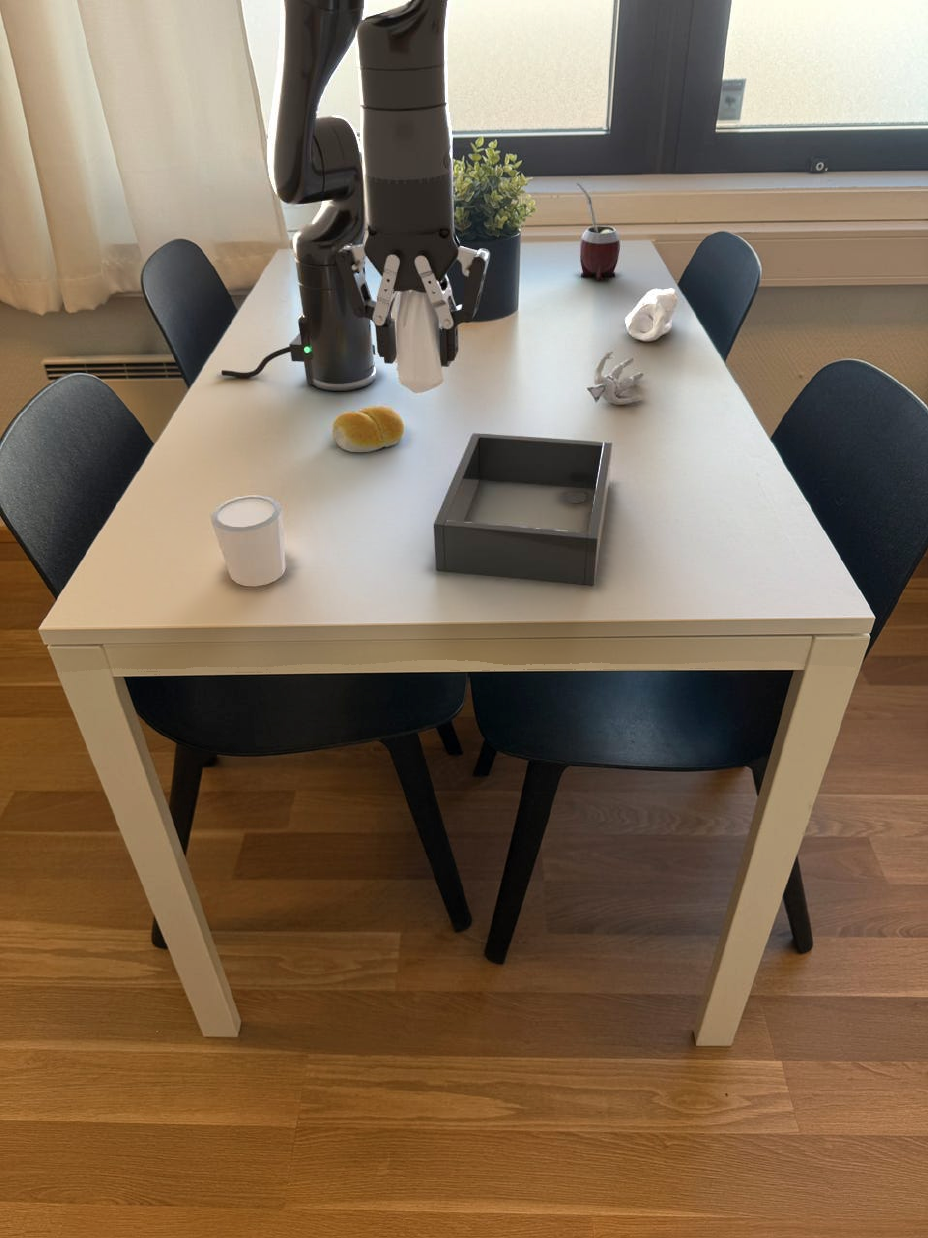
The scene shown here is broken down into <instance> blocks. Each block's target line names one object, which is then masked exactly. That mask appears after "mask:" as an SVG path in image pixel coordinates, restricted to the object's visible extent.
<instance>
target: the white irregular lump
mask: <svg viewBox="0 0 928 1238" xmlns="http://www.w3.org/2000/svg"><path fill="white" fill-rule="evenodd" d="M678 300H679V299H678V293H677V291H676V290H675V289H674V288H672V287H671V288H668V289H660V288H655V289H651V290H649V291H647V293H646V294H645V295H644V296H643V297H642V298H641V299H640V301H639V302H637V304H636V306H635V307H634V309H633V310H632V311H631V312H630V313H628V315H626V317H625V319H624V323H625V326H626V328H625V329H626V330H627V332H628V334H629V335H630V336H631V337H632V338H633V339H635V340H638V341H642V342H646V343H647V342H653V341H656V340H658V339H659V338H660V337H661V336H663V335H666V334H667V333H669V332H670V331H671V329H672V325H673V321H672V319H673V314H674V312H675V309H676V307H677V303H678Z"/></svg>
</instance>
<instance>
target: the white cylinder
mask: <svg viewBox="0 0 928 1238" xmlns="http://www.w3.org/2000/svg"><path fill="white" fill-rule="evenodd" d="M210 521H211V525H212V528H213V530H214V533H215V537H216V539H217V542H218V544H219V548H220V550H221V553H222V556H223V559H224V562H225V564H226V568H227V570H228V573H229V577H230V579H231V580H233V581H234V583H235V584H237V585H241V586H243V587H255V588H257V587H261V586H266V585H269V584H272V583H273V582H276V581H278V580H279V579H280V578H281V577H282V576H283V575H284V574H285V571H286V569H287V567H286V552H285V538H284V537H285V536H284V525H283V524H284V523H283V522H284V521H283V511H282V507H281V503H280V502H279V501H277V500H276V499H275V498H272V497H269V496H266V495H259V494H258V495H256V494H254V495H253V494H248V495H243V496H237V497H233V498H231V499H228V500H226V501H223V502H222V503H220V504H219V505H218V506H216V507H214V510H213V511H212V513H211V514H210Z"/></svg>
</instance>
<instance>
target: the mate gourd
mask: <svg viewBox="0 0 928 1238" xmlns="http://www.w3.org/2000/svg"><path fill="white" fill-rule="evenodd" d="M576 186H578V188H579V189H580V190H581V191H582V193H583V194H584V196H585V197H586V203H587V205H588V209H589V212H590V217H591V222H592V226H589V227H588V228H586V229H585V231H584V232H583V234H582V235H581V240H580V245H579V261H580V266H581V271H582V272H580V277H582V278H584V277H585V278H586V277H589V278H590V277H595V278H596V281H597V282H602V281H603V277H615V276H616V270H615V269H616V267H617V264H618V261H619V257H620V256H619V254H620V250H621V241H620V236H619V234H618V231H617V230H616V229H615V228H614V227H612V226H607V225H597V221H596V217H595V212H594V208H593V199H592V197H591V196H590V194H589V193H588V191H587V190H586V188H585V187H583V185H582V184H580V182H577V183H576Z"/></svg>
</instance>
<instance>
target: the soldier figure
mask: <svg viewBox="0 0 928 1238" xmlns="http://www.w3.org/2000/svg"><path fill="white" fill-rule="evenodd" d="M612 354H614V352H613V351H612V350H610V351H608V352H606V353H605V354H604V356H603V357H602V358H601V359H600V361H599V362H598V364H597V366H596V368H595V369H594V380H593V383H594V386H588V387H586V391H588V392H589V393H590V395H591V396H592V398H593V400H594V402H595V404H598V402H599V401H600V399H601V397H602V398H603V399H604V400H605V401H606V402H608V403H610V404H614V405H615V406H625V405H628V404H632V403H638V401H641V400H643V399H642V396H641V395H640V394H639V395H638V394H637V395H635V396H632V397H625V398H618V397H617V395H619V394H621V393H623V392H625V391H627V390H628V389H629V388H633V387H635V384H636V381H639V380H641V379H642V378H643V376H644V373H643V372H638V373H637V374H634V375H631V376H630V377H628V378H627V379H625V380H624V381H623V380H622V381H620V382H618V381H619V378H620V375H622V374H623V371H624V369H625V368H626V367H628V366H630V365H631V364H632V363H633V362H634V358H633V357H628V358H627V359H626V360H624V361H622V362H621V363H617V364H616V366H614V367H613V370H612V371H611V372H610V374H608V375H604V376H603V374H602V372H603V370H604V367H605V364H606V361H607V360H611V359H612V358H613V357H611V355H612Z"/></svg>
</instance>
